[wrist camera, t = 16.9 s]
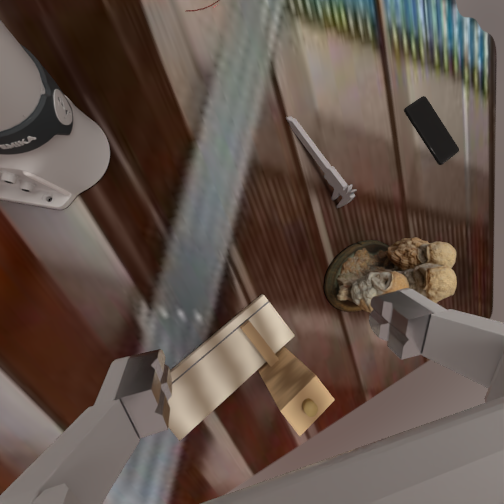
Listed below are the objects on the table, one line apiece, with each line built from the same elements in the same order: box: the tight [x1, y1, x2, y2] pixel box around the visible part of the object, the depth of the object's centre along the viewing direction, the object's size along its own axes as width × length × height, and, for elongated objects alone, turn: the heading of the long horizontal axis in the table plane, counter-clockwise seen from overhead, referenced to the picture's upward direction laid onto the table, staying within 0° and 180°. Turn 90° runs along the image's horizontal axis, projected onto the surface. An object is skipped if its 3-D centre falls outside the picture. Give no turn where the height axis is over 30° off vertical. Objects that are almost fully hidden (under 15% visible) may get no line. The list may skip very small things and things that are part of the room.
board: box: [168, 295, 295, 441], centre depth 39 cm, size 24×9×2 cm, turn 128°
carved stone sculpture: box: [324, 237, 457, 313], centre depth 38 cm, size 18×12×17 cm, turn 128°
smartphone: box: [404, 96, 459, 165], centre depth 53 cm, size 7×1×15 cm
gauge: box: [240, 320, 334, 436], centre depth 35 cm, size 6×12×14 cm, turn 38°
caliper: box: [286, 116, 356, 208], centre depth 44 cm, size 20×1×6 cm, turn 31°
